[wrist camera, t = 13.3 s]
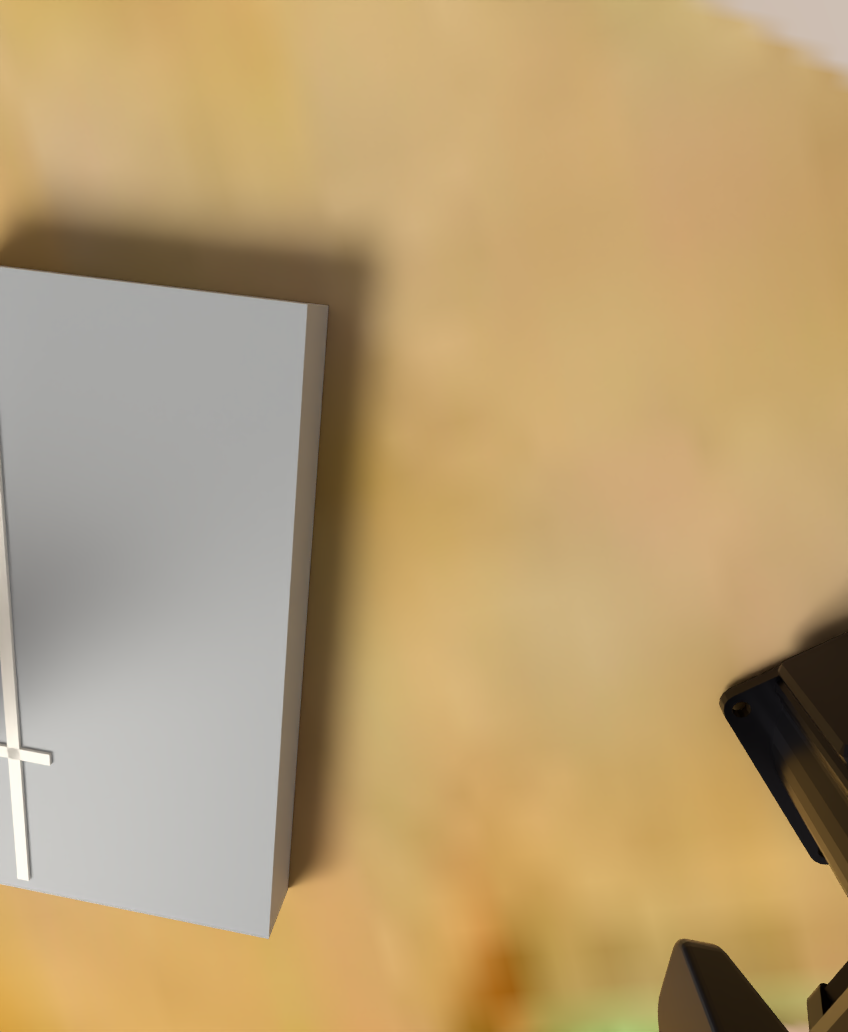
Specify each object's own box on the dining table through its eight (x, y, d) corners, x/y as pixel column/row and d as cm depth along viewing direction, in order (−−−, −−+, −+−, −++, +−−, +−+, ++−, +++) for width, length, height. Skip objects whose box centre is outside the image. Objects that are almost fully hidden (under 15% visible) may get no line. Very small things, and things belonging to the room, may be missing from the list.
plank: (-18, 263, 19) (-79, 257, 17) (328, 305, 18) (306, 304, 16) (24, 837, 25) (-18, 883, 23) (287, 889, 24) (267, 941, 22)
